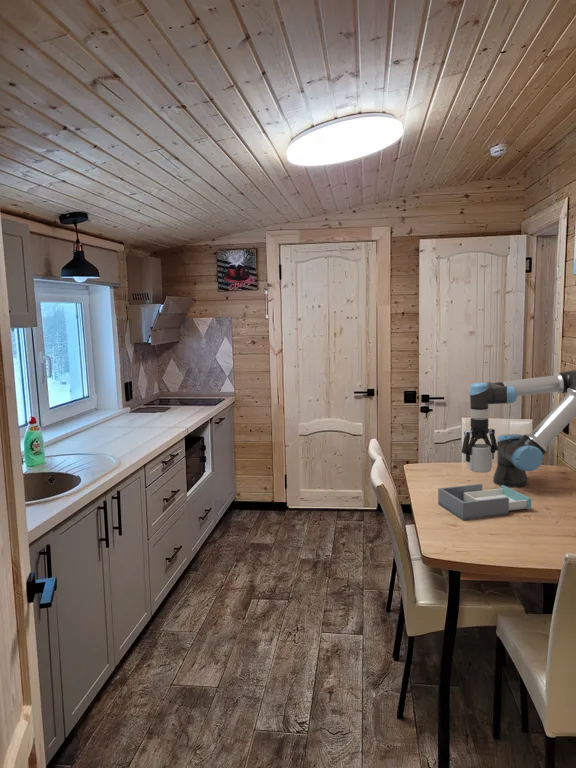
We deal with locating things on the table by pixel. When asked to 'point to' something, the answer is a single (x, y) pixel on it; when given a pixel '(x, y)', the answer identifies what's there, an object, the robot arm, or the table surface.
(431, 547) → the table surface
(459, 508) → the dock
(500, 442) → the robot arm
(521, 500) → the tray
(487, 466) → the mug
